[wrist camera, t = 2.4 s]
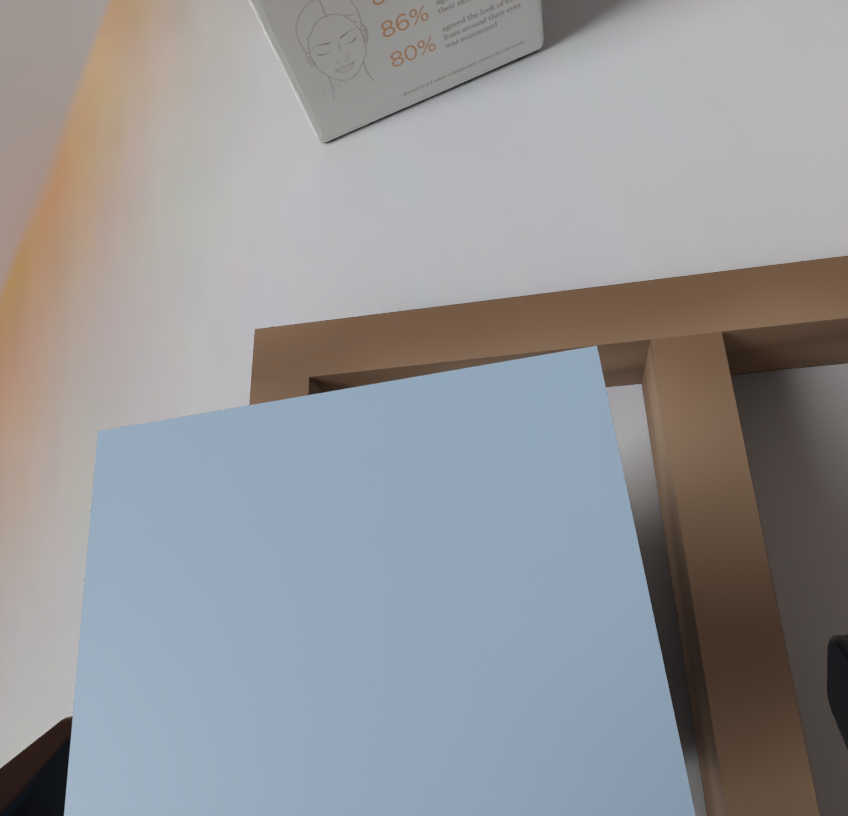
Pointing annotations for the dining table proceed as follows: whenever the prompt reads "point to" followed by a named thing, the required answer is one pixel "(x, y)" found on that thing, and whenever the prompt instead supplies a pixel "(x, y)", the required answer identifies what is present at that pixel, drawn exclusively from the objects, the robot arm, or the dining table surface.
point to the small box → (390, 51)
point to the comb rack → (672, 454)
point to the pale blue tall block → (374, 609)
